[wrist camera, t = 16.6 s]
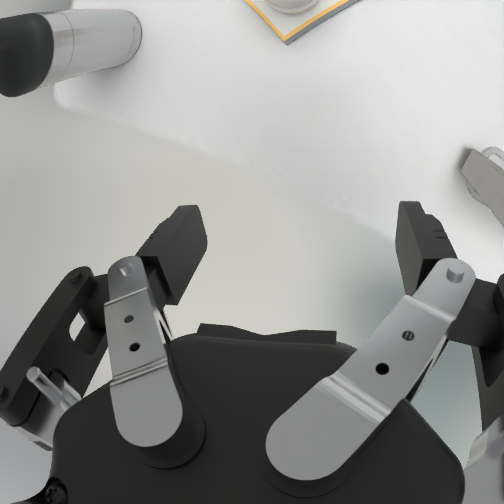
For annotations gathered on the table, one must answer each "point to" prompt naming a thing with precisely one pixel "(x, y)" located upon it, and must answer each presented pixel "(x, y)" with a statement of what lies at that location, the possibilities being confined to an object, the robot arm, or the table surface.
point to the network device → (486, 180)
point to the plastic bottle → (291, 5)
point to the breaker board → (298, 17)
